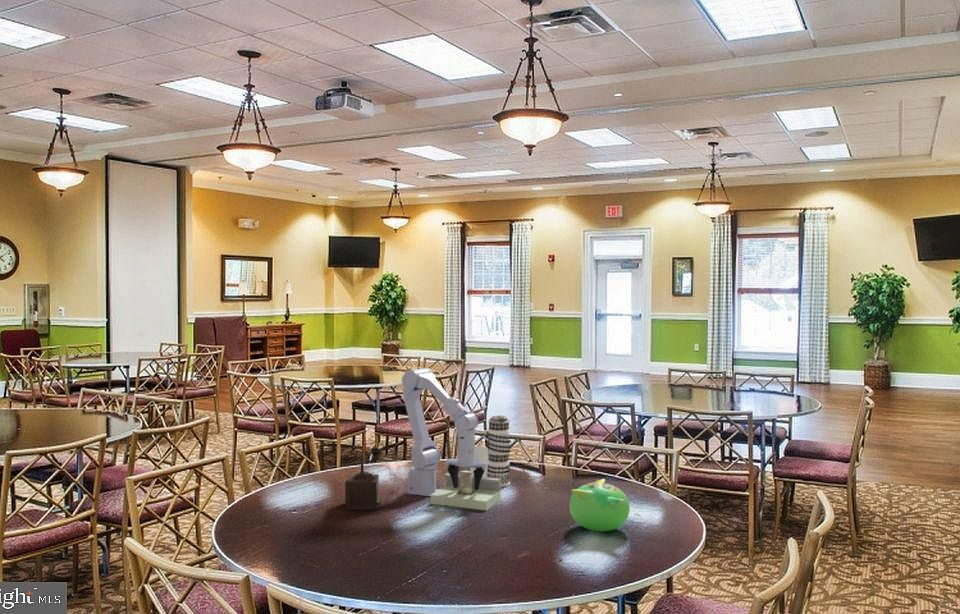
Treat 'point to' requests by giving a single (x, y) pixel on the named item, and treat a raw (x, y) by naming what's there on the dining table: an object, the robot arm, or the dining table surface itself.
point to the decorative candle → (499, 449)
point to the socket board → (478, 500)
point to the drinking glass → (481, 458)
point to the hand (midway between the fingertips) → (466, 488)
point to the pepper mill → (363, 487)
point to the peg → (466, 483)
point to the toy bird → (599, 506)
